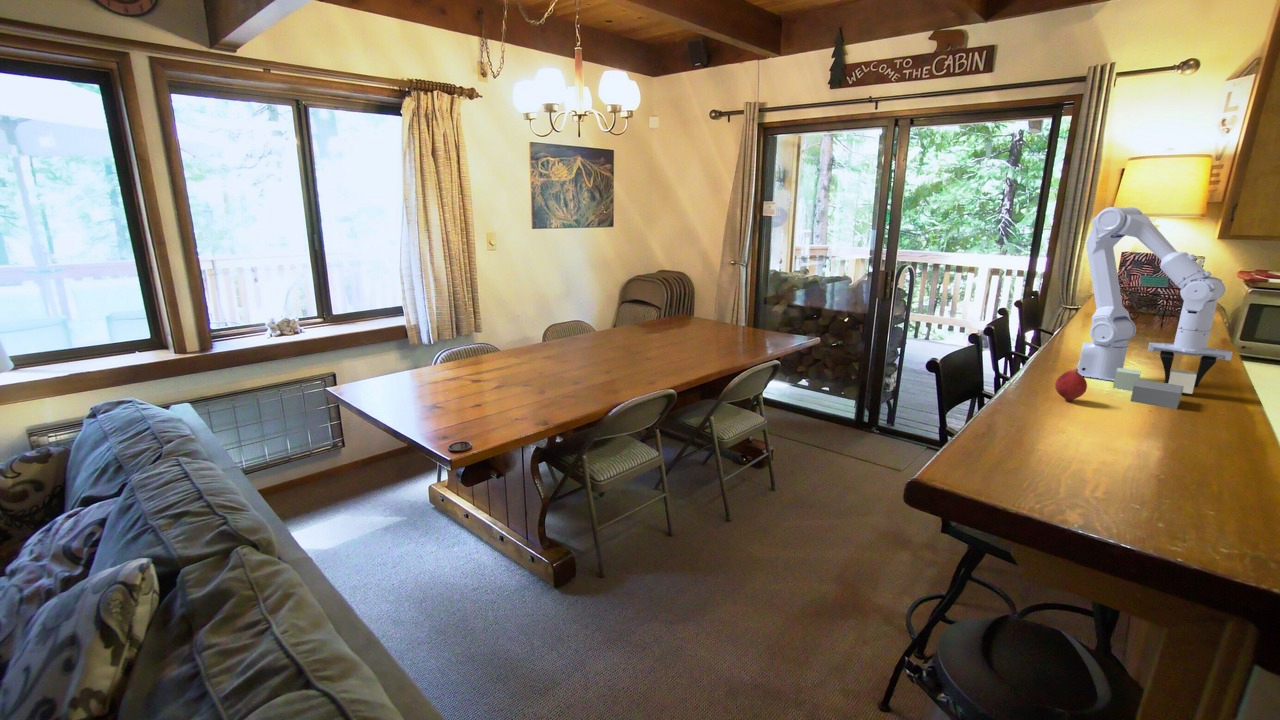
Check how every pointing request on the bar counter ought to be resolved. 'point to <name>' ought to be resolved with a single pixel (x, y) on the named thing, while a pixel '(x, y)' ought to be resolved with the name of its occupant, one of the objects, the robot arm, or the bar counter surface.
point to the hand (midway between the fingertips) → (1180, 384)
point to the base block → (1157, 394)
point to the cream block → (1183, 379)
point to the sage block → (1126, 379)
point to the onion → (1071, 385)
